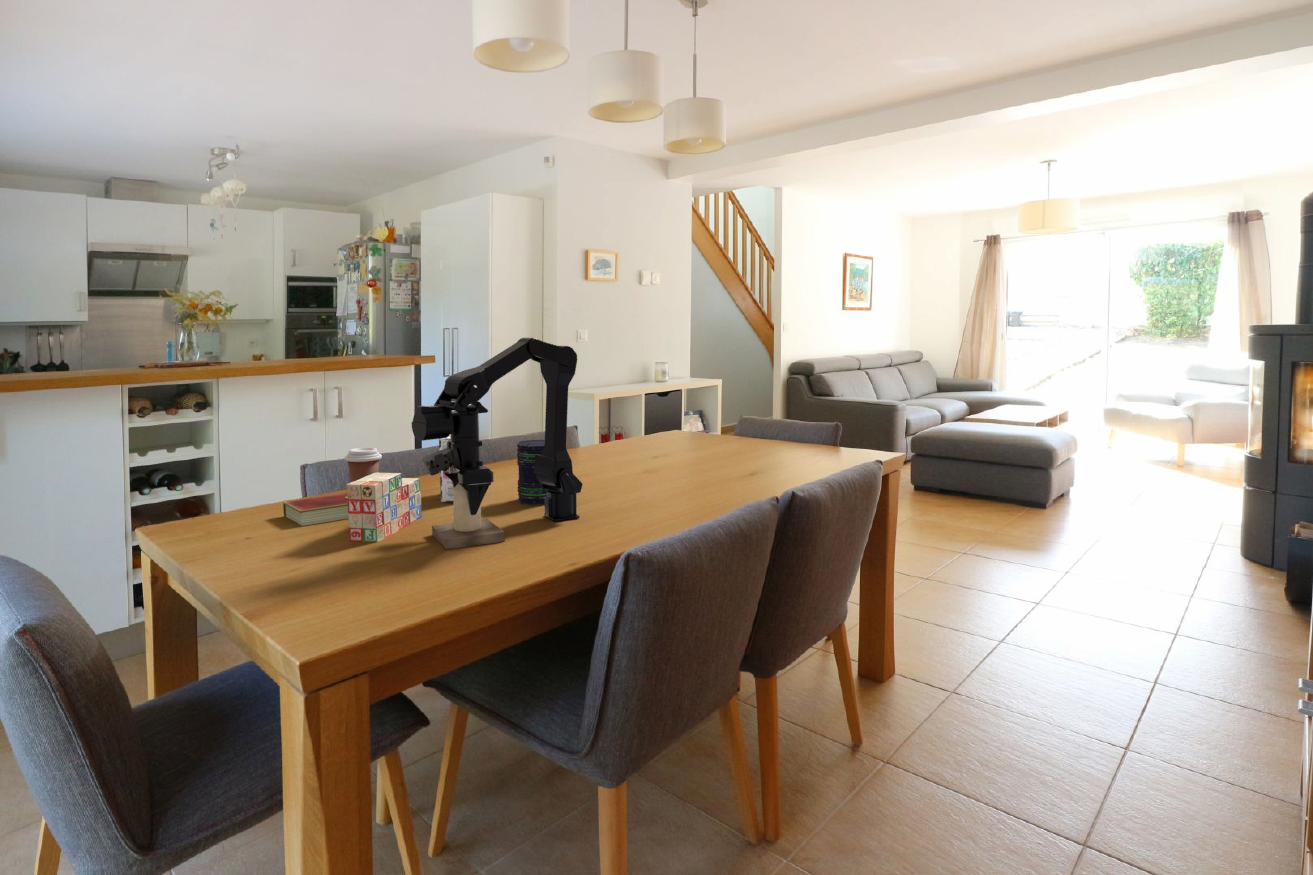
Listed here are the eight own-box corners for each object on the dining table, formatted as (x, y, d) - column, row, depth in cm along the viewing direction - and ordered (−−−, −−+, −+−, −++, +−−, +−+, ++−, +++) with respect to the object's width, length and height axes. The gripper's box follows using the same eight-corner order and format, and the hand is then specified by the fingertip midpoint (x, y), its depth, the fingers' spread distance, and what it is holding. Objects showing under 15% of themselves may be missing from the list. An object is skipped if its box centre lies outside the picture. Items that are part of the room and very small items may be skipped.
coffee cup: (352, 491, 202) (349, 446, 200) (387, 490, 203) (385, 446, 201) (342, 498, 193) (339, 452, 191) (378, 498, 194) (376, 452, 192)
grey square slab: (487, 527, 166) (487, 518, 166) (504, 541, 156) (504, 531, 156) (432, 534, 160) (431, 525, 160) (446, 549, 150) (446, 539, 150)
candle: (486, 526, 160) (485, 480, 158) (471, 533, 154) (470, 485, 153) (464, 524, 161) (463, 478, 160) (448, 530, 156) (447, 483, 155)
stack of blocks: (396, 516, 176) (394, 464, 175) (422, 517, 176) (420, 465, 174) (348, 541, 155) (345, 483, 154) (377, 543, 155) (374, 484, 153)
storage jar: (537, 494, 199) (536, 438, 197) (565, 499, 194) (564, 442, 191) (509, 501, 191) (508, 443, 189) (537, 507, 186) (536, 447, 183)
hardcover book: (283, 518, 175) (282, 500, 175) (373, 504, 189) (372, 488, 189) (301, 528, 166) (299, 509, 166) (393, 513, 181) (392, 496, 180)
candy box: (463, 503, 189) (461, 438, 187) (440, 503, 189) (437, 438, 187) (477, 491, 203) (475, 430, 200) (455, 491, 203) (453, 430, 201)
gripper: (414, 432, 159) (417, 504, 161) (435, 445, 143) (438, 525, 145) (467, 429, 165) (469, 499, 167) (493, 441, 148) (495, 518, 151)
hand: (467, 509), depth 157 cm, fingers open, 9 cm apart
